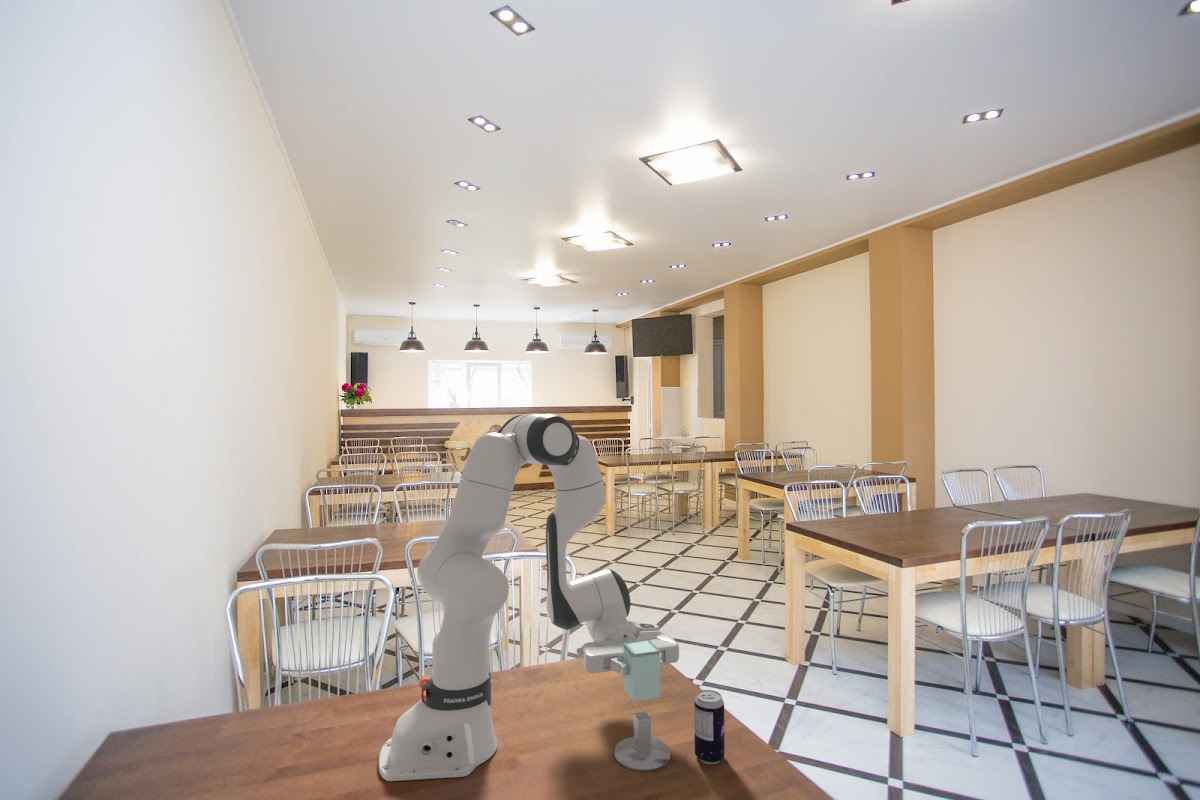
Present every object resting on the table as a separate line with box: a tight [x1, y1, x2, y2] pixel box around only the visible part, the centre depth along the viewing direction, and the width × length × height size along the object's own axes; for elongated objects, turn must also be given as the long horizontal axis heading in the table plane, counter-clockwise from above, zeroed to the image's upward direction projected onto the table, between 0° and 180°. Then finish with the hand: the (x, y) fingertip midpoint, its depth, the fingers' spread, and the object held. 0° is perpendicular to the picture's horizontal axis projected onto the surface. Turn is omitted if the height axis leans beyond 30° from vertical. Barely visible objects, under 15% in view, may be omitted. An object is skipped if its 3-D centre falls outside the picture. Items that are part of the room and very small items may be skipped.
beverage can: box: [693, 689, 726, 765], centre depth 115 cm, size 6×6×12 cm
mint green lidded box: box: [623, 640, 661, 703], centre depth 117 cm, size 6×6×9 cm
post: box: [613, 711, 672, 772], centre depth 116 cm, size 11×11×8 cm
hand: (643, 669), depth 116 cm, fingers closed on mint green lidded box, 6 cm apart
